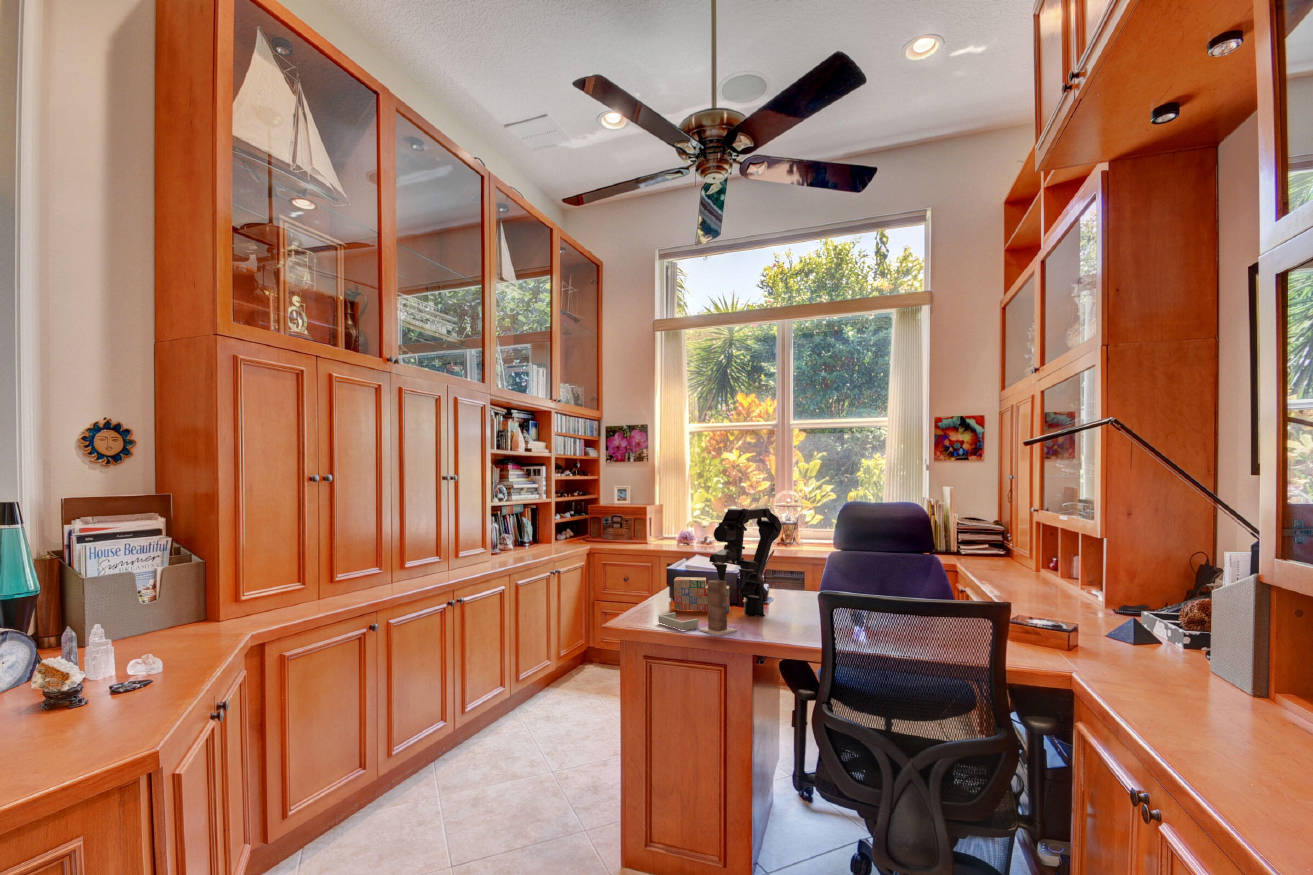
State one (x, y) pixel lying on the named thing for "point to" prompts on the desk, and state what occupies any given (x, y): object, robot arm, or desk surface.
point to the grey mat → (729, 630)
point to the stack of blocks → (692, 594)
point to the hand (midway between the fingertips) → (730, 586)
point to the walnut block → (717, 605)
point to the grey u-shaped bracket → (677, 622)
